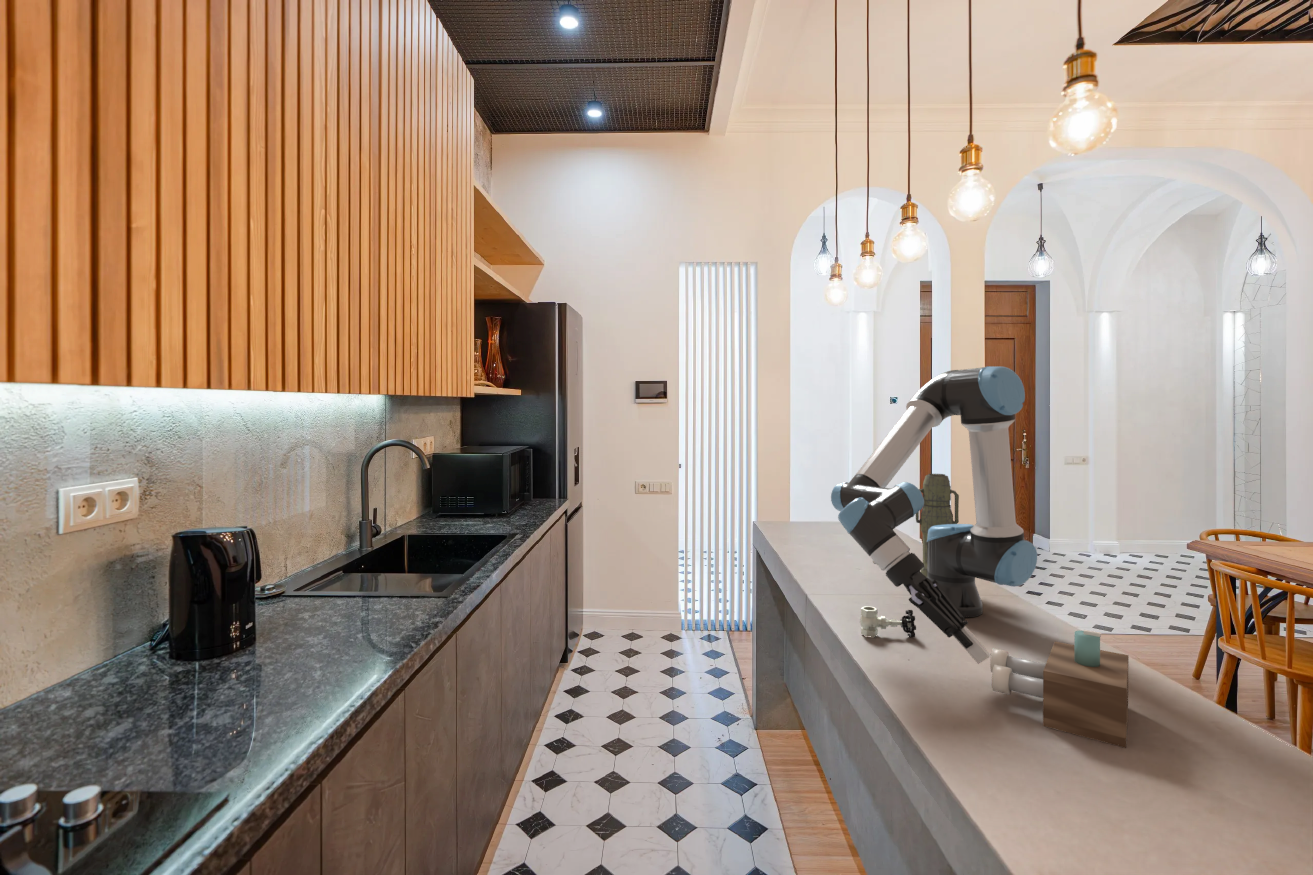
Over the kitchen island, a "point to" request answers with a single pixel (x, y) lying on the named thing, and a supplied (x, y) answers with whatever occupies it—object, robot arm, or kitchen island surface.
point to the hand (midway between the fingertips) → (984, 659)
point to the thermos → (936, 508)
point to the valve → (884, 622)
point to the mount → (1086, 695)
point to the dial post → (1087, 648)
